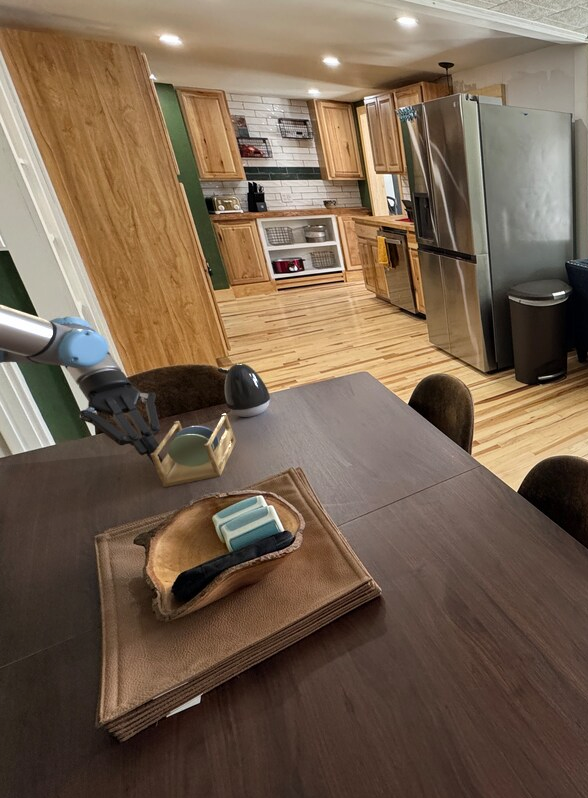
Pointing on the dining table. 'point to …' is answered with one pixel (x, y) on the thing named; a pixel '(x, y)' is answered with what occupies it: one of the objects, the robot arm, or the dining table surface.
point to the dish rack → (194, 453)
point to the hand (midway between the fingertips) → (159, 463)
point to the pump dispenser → (245, 391)
